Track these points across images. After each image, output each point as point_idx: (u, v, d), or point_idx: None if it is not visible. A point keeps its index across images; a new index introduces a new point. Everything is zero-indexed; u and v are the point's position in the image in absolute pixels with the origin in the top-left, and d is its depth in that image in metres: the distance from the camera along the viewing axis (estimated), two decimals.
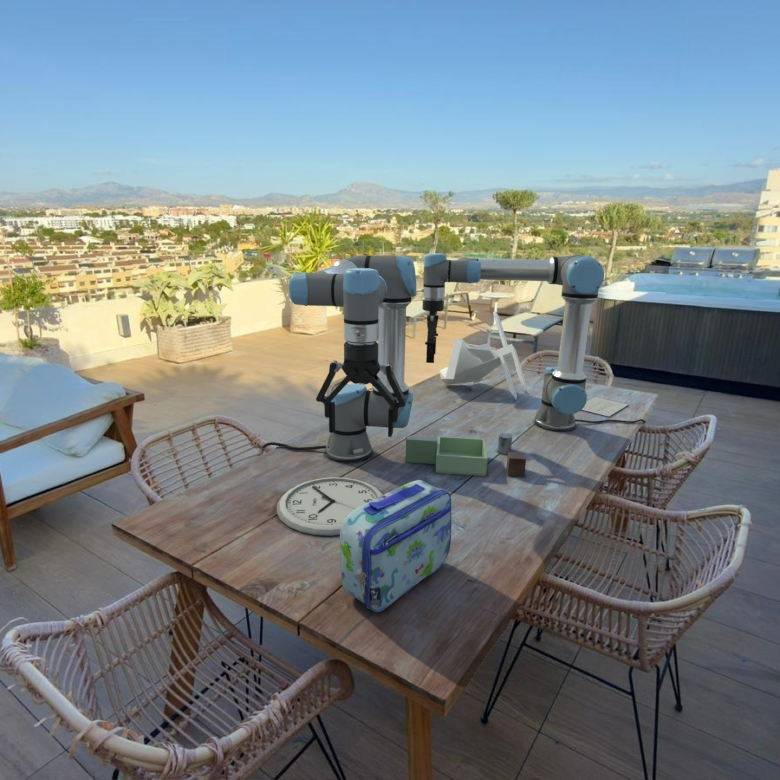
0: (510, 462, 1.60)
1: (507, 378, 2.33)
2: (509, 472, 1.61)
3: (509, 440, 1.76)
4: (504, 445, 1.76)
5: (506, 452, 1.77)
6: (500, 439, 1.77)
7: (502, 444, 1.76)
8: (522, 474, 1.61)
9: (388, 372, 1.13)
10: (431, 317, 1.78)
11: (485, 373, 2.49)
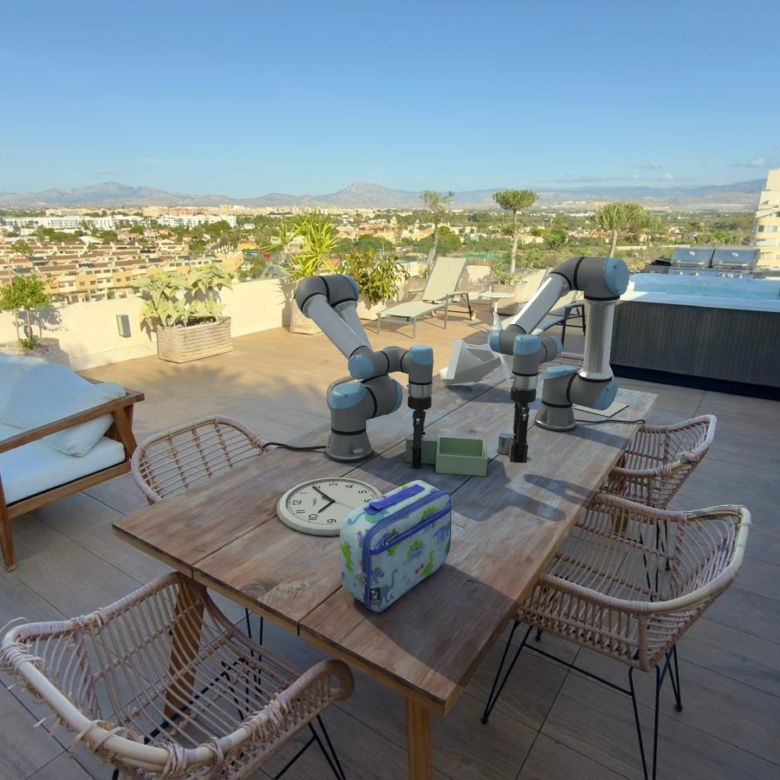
0: (512, 448, 1.59)
1: (507, 378, 2.33)
2: (511, 458, 1.60)
3: (509, 440, 1.76)
4: (504, 445, 1.76)
5: (506, 452, 1.77)
6: (500, 439, 1.77)
7: (502, 444, 1.76)
8: (524, 460, 1.60)
9: (414, 422, 1.60)
10: (524, 417, 1.51)
11: (485, 373, 2.49)
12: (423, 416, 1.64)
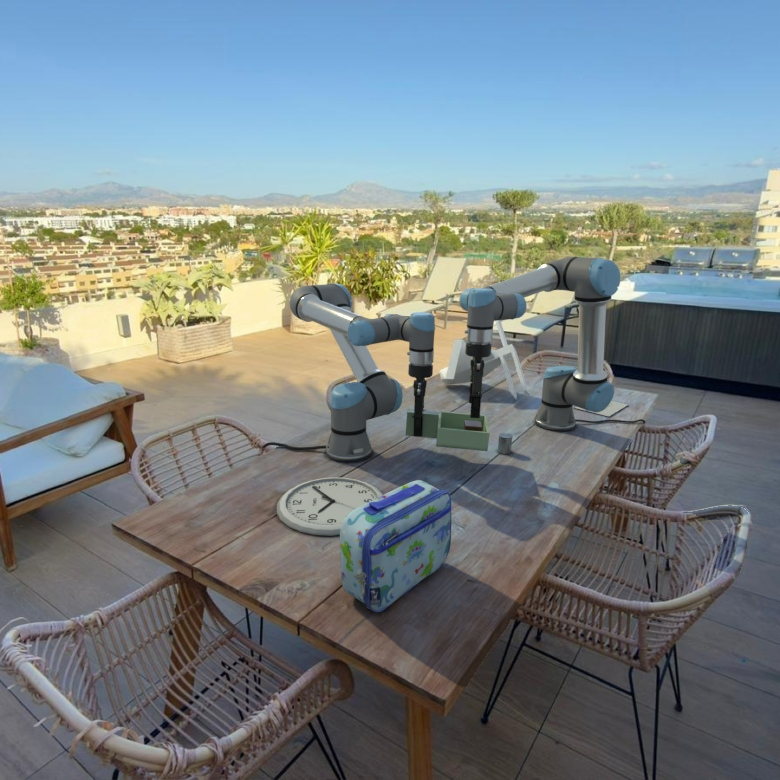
0: None
1: (507, 378, 2.33)
2: None
3: (509, 440, 1.76)
4: (504, 445, 1.76)
5: (506, 452, 1.77)
6: (500, 439, 1.77)
7: (502, 444, 1.76)
8: None
9: (414, 392, 1.58)
10: (478, 365, 1.49)
11: (485, 373, 2.49)
12: (424, 385, 1.61)
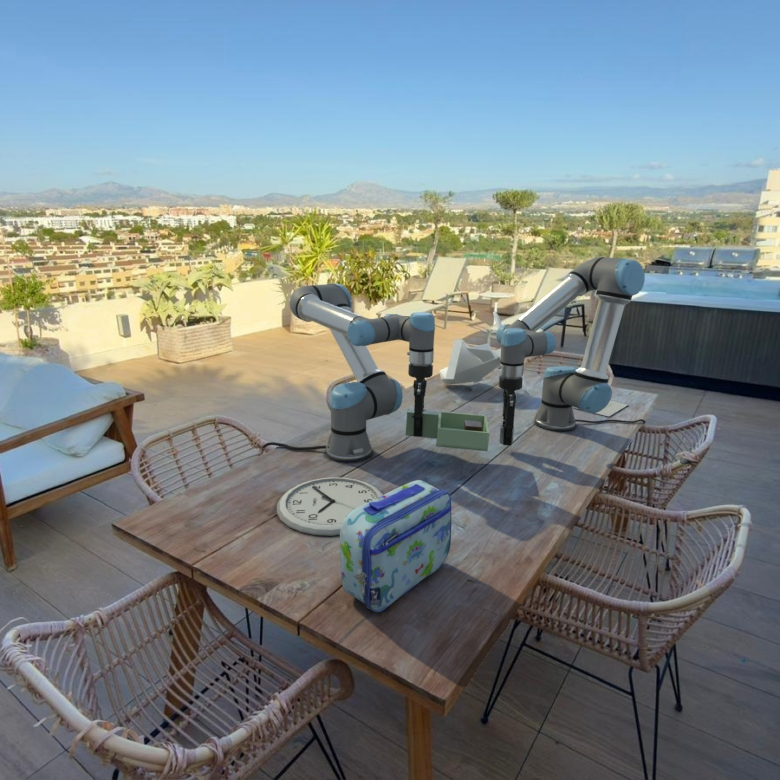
0: None
1: None
2: None
3: None
4: None
5: None
6: (502, 430, 1.76)
7: None
8: None
9: (414, 392, 1.58)
10: (511, 403, 1.67)
11: (485, 373, 2.49)
12: (424, 385, 1.61)
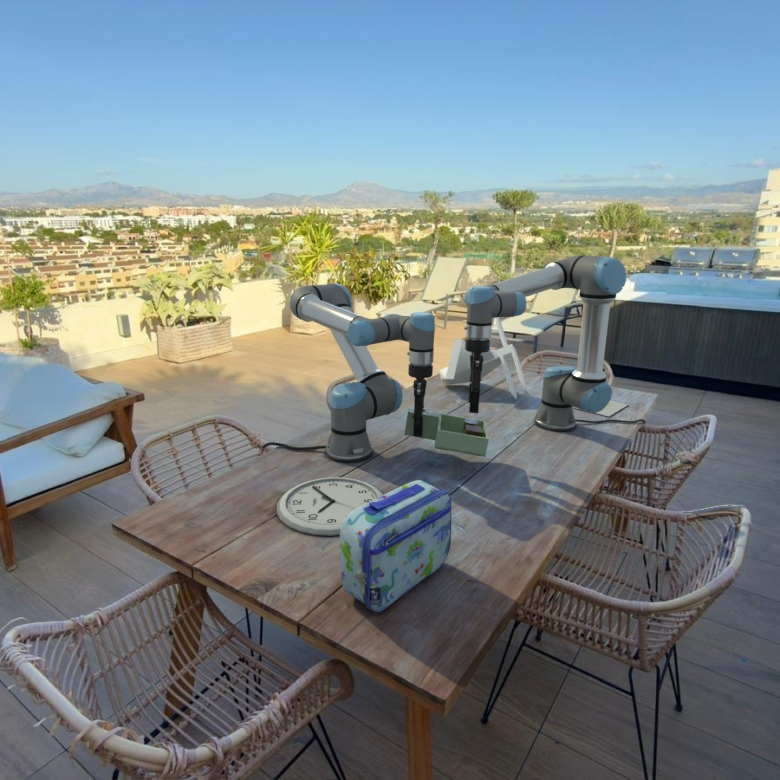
0: (467, 434, 1.60)
1: (507, 378, 2.33)
2: None
3: None
4: None
5: None
6: (465, 424, 1.67)
7: None
8: None
9: (414, 392, 1.58)
10: (477, 363, 1.55)
11: (485, 373, 2.49)
12: (424, 385, 1.61)
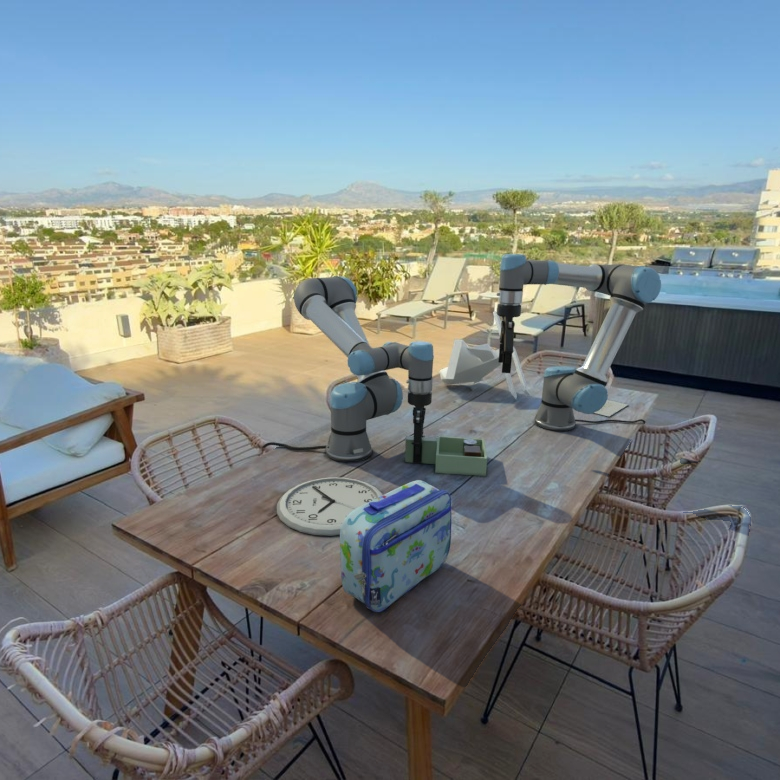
0: None
1: (507, 378, 2.33)
2: None
3: None
4: None
5: None
6: (464, 445, 1.69)
7: None
8: None
9: (414, 420, 1.61)
10: (509, 324, 1.63)
11: (485, 373, 2.49)
12: (423, 412, 1.64)
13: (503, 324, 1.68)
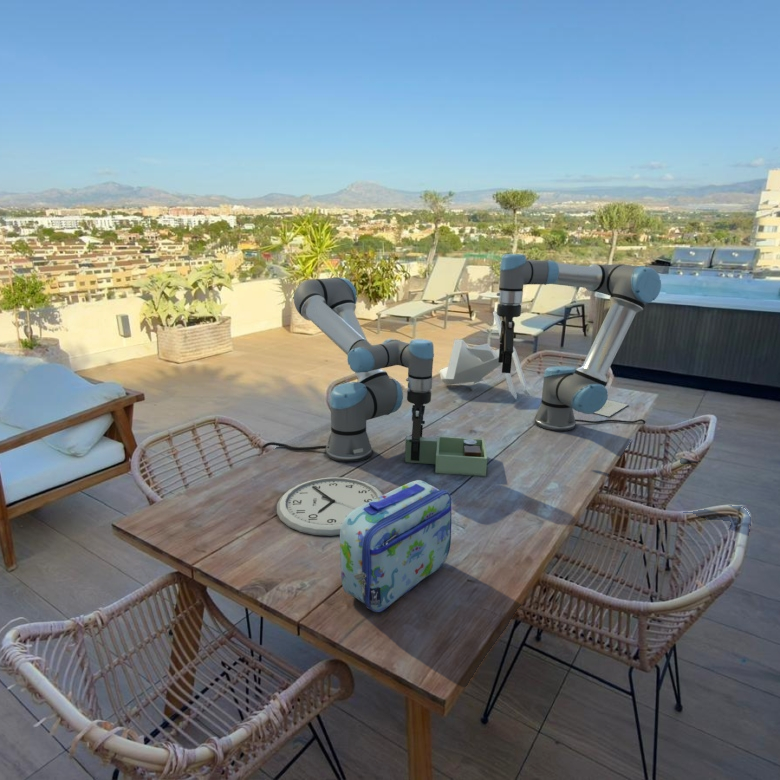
0: None
1: (507, 378, 2.33)
2: None
3: None
4: None
5: None
6: (464, 445, 1.69)
7: None
8: None
9: (413, 414, 1.60)
10: (509, 324, 1.63)
11: (485, 373, 2.49)
12: (422, 410, 1.64)
13: (503, 324, 1.68)
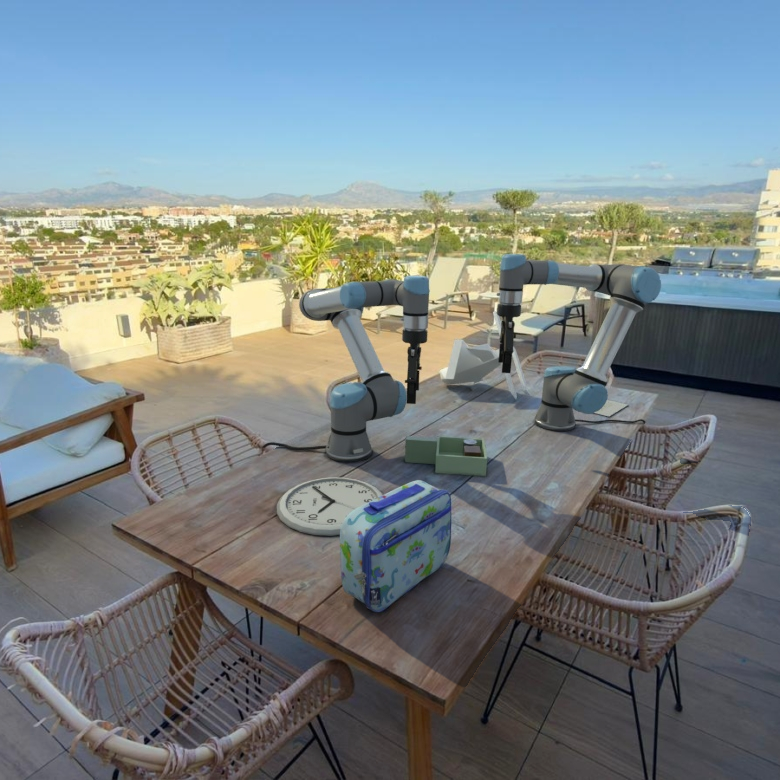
0: None
1: (507, 378, 2.33)
2: None
3: None
4: None
5: None
6: (464, 445, 1.69)
7: None
8: None
9: (408, 353, 1.52)
10: (509, 324, 1.63)
11: (485, 373, 2.49)
12: (418, 351, 1.56)
13: (503, 324, 1.68)
